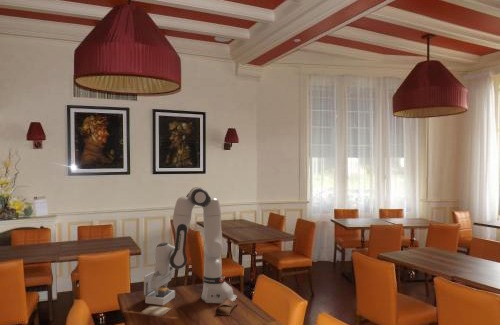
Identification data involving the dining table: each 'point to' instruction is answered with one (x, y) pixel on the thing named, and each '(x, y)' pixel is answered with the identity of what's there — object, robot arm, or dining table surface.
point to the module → (162, 292)
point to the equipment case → (150, 293)
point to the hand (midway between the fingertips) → (160, 292)
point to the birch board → (156, 310)
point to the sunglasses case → (226, 307)
